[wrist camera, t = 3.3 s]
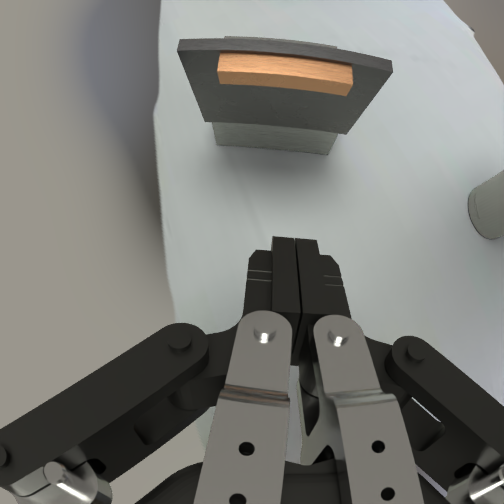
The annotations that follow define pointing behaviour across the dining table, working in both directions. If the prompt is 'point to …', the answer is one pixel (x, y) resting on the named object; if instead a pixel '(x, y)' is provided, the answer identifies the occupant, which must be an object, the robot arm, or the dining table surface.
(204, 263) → the dining table surface
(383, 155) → the dining table surface
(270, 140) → the grey metal box
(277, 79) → the lid
